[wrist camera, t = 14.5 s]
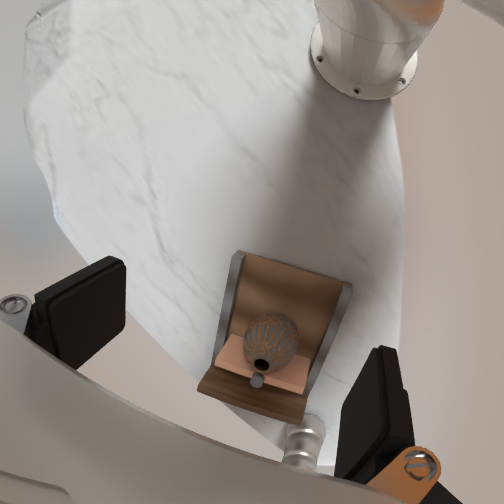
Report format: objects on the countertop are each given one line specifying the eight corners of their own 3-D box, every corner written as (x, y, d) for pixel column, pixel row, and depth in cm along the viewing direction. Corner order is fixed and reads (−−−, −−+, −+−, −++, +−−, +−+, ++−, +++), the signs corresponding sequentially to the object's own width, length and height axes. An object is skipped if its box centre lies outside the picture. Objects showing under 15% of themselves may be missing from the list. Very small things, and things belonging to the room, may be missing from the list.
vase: (263, 351, 44) (246, 391, 36) (244, 311, 43) (222, 346, 34) (309, 342, 41) (299, 383, 33) (292, 298, 40) (278, 334, 32)
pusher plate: (231, 332, 44) (212, 362, 37) (311, 357, 42) (303, 393, 35) (229, 340, 45) (210, 371, 38) (307, 366, 42) (299, 401, 36)
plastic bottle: (326, 408, 45) (307, 514, 27) (327, 434, 47) (309, 532, 28) (287, 408, 47) (255, 509, 28) (291, 433, 49) (263, 527, 30)
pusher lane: (238, 250, 41) (216, 270, 34) (351, 284, 38) (353, 312, 31) (216, 361, 47) (197, 391, 40) (307, 391, 45) (299, 426, 38)
